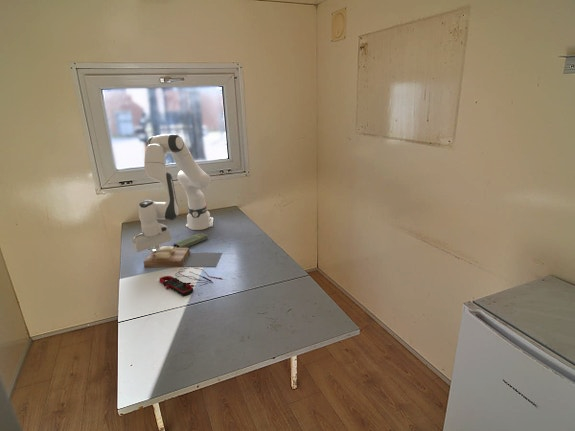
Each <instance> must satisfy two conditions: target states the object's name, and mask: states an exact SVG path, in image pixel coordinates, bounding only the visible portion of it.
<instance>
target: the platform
mask: <svg viewBox="0 0 575 431" xmlns="http://www.w3.org/2000/svg"><path fill="white" fill-rule="evenodd" d="M160 248H161V247H159V248H158V250H159V249H160ZM154 249H155V247H153V250H154ZM174 249H175V250H174V252H173V253H172V255H171V256H170V257H169V259H156V257H155V254H156V253H155V254H152V253H151V252H150V253H149V254H148V256H147V257H146V258H145V259H144V260H143V265H144V268H183V267H182V266H183V264H184V263H185V261H186V259H187V258H188V256H189V255H190V253H191V250H190V247H186V248H177V247H174Z"/></svg>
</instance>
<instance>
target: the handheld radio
mask: <svg viewBox="0 0 575 431" xmlns="http://www.w3.org/2000/svg"><path fill="white" fill-rule="evenodd" d="M208 237H209V236H208V235H207V234H205V233H202V232H199V233H196V234H194V235H191V236H189V237H187V238H185V239H182V240H179V241H177V242H175V243H174V244H173V245H172V246H174V248H189V247H191V246H194V245H195V244H197V243H201V242H203V241H205V240H207V239H208Z"/></svg>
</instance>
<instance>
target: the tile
mask: <svg viewBox="0 0 575 431" xmlns="http://www.w3.org/2000/svg"><path fill="white" fill-rule="evenodd" d="M159 248H160V249H159V250H158V252H157V253H156V254H155V257H156V259H169V257H170V256H171V255H172V253H173V252H174V250H175V249H174V248H175V247H174V246H173V245H171V246H170V245H162V246H161V247H159Z"/></svg>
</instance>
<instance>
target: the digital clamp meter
mask: <svg viewBox="0 0 575 431" xmlns="http://www.w3.org/2000/svg"><path fill="white" fill-rule="evenodd" d="M187 269H188V267H183V268H181V269H179V271H177V272H176V273H174V276H176V277H174V276H171V275H164V276H161V277H159V278H158V281H159V283H160V284H162V285H163V287H165V288H166V290H169V289H170V290H171V291H173V292H174V293H176V294H178V295H180V296H182V297H183V298H184V297H185V298H186V297H188V296H190V295H192V294H193V293H194V287H195V285H194V284H193V282H183V281H181V280H180V279H178V277H179V278H182V277H183V278H184V277H185V278H188V279H190V280H194V281H195V280H196V281H197V282H195V284H199V283H201V284H200V285H199V287H201V286H204V285H207V284H214V281H212V280H211V279H218V280H226V279H224V278H222V277H218V276H217V277H216V276H211V275H208V274H207V272H206V271H204V269H203V268H200V267H194V269H195V270H196V269H197V270H202V272H204V273H205V274H206V276H207V277H205V276H202V275H200V274H197V273H194V272H193V271H190V273H192V274H194V275H197V276H199V277H202V278H203V279H205V280H203V279H199V278H196V277H195V276H192V275H191V276H190V275H184V274H182V272H184V270H187ZM178 274H179V275H178ZM180 275H181V276H180ZM208 277H209V278H211V279H209V278H208ZM165 280H166V281H165ZM202 283H203V284H202Z"/></svg>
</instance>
